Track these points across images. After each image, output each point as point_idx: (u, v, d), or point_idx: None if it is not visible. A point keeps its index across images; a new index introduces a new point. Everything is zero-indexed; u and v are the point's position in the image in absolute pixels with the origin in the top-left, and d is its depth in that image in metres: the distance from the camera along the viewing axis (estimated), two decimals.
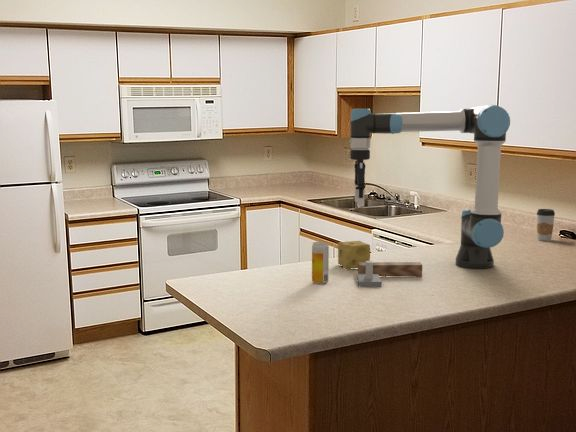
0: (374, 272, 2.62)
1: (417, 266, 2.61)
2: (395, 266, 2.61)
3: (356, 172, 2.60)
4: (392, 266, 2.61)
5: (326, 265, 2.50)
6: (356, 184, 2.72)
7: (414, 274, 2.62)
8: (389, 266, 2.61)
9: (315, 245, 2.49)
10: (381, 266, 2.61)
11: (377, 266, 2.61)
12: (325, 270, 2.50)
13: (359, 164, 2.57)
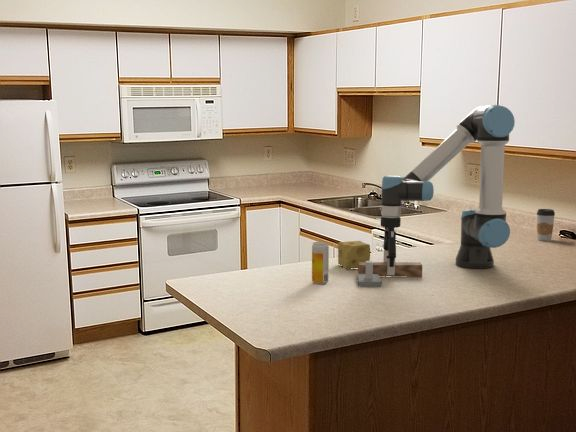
0: (374, 272, 2.62)
1: (417, 266, 2.61)
2: (395, 266, 2.61)
3: (387, 240, 2.58)
4: None
5: (326, 265, 2.50)
6: (385, 249, 2.70)
7: (414, 274, 2.62)
8: None
9: (315, 245, 2.49)
10: (381, 266, 2.61)
11: (377, 266, 2.61)
12: (325, 270, 2.50)
13: (390, 233, 2.55)
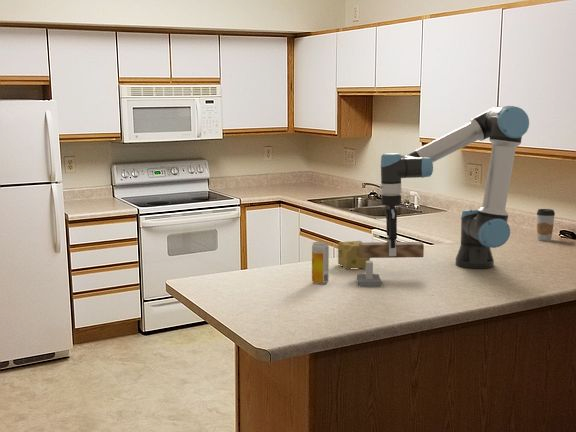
0: (375, 252, 2.61)
1: (418, 245, 2.60)
2: (396, 246, 2.60)
3: (388, 220, 2.58)
4: None
5: (326, 265, 2.50)
6: (388, 235, 2.65)
7: (415, 254, 2.60)
8: None
9: (315, 245, 2.49)
10: (382, 246, 2.60)
11: (378, 246, 2.60)
12: (325, 270, 2.50)
13: (391, 215, 2.54)
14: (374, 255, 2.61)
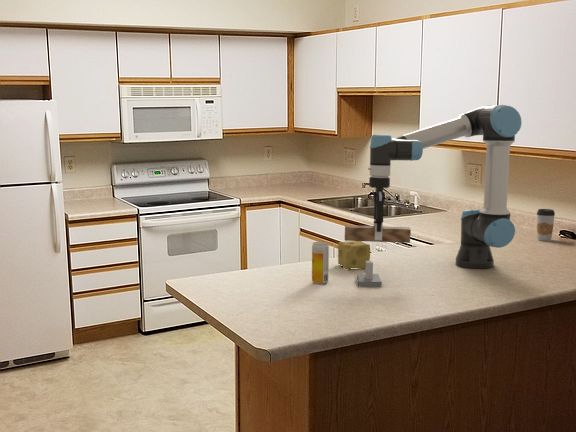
0: (360, 235, 2.54)
1: (405, 230, 2.52)
2: (382, 230, 2.53)
3: (375, 203, 2.51)
4: None
5: (326, 265, 2.50)
6: (375, 219, 2.58)
7: (402, 239, 2.53)
8: None
9: (315, 245, 2.49)
10: (368, 229, 2.53)
11: (364, 229, 2.53)
12: (325, 270, 2.50)
13: (378, 197, 2.47)
14: (359, 239, 2.54)
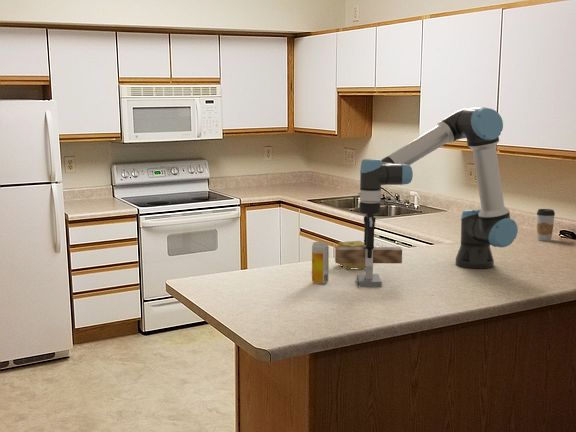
0: (351, 257, 2.49)
1: (397, 251, 2.48)
2: (373, 251, 2.48)
3: (365, 228, 2.47)
4: None
5: (326, 265, 2.50)
6: (366, 244, 2.54)
7: (393, 259, 2.49)
8: None
9: (315, 245, 2.49)
10: (359, 251, 2.49)
11: (354, 251, 2.49)
12: (325, 270, 2.50)
13: (369, 223, 2.43)
14: (350, 261, 2.49)
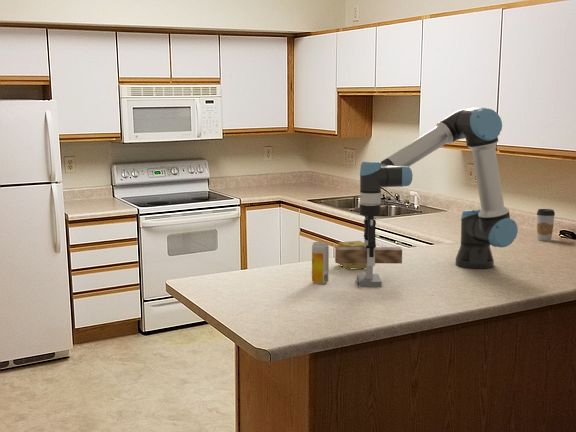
0: (351, 257, 2.49)
1: (397, 251, 2.48)
2: None
3: (366, 229, 2.46)
4: None
5: (326, 265, 2.50)
6: (366, 239, 2.58)
7: (393, 259, 2.49)
8: None
9: (315, 245, 2.49)
10: (359, 251, 2.49)
11: (354, 251, 2.49)
12: (325, 270, 2.50)
13: (369, 221, 2.43)
14: (350, 261, 2.49)
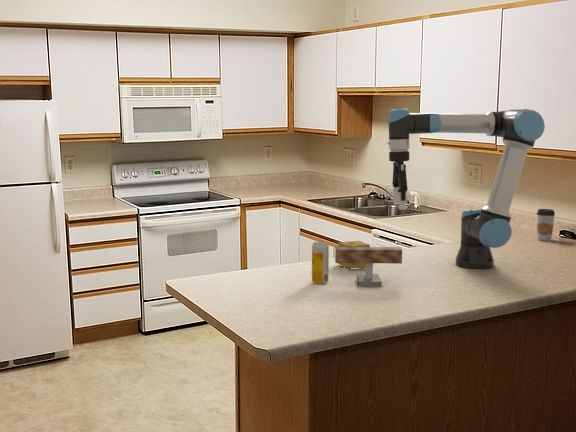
0: (351, 257, 2.49)
1: (397, 251, 2.48)
2: (373, 251, 2.48)
3: (397, 174, 2.54)
4: (370, 251, 2.48)
5: (326, 265, 2.50)
6: (394, 186, 2.66)
7: (393, 259, 2.49)
8: (367, 250, 2.48)
9: (315, 245, 2.49)
10: (359, 251, 2.49)
11: (354, 251, 2.49)
12: (325, 270, 2.50)
13: (400, 166, 2.51)
14: (350, 261, 2.49)
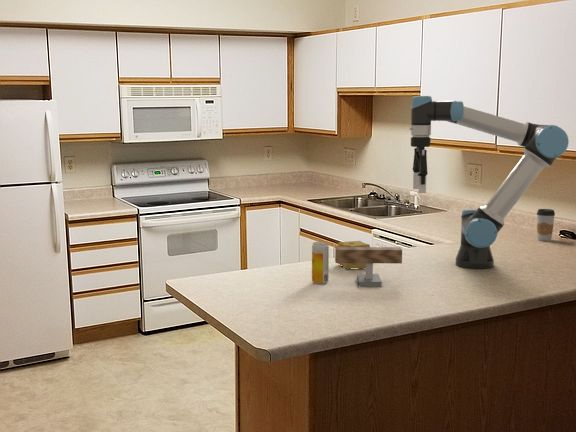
0: (351, 257, 2.49)
1: (397, 251, 2.48)
2: (373, 251, 2.48)
3: (417, 159, 2.62)
4: (370, 251, 2.48)
5: (326, 265, 2.50)
6: (415, 171, 2.74)
7: (393, 259, 2.49)
8: (367, 250, 2.48)
9: (315, 245, 2.49)
10: (359, 251, 2.49)
11: (354, 251, 2.49)
12: (325, 270, 2.50)
13: (421, 151, 2.59)
14: (350, 261, 2.49)
